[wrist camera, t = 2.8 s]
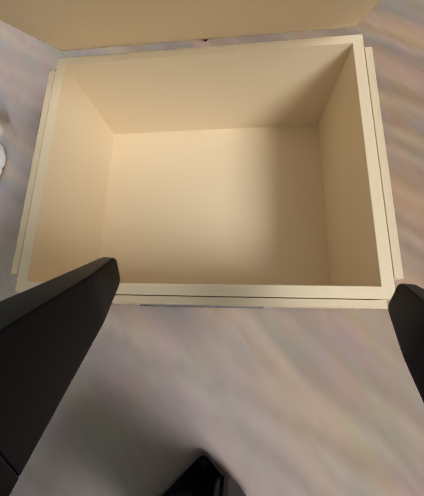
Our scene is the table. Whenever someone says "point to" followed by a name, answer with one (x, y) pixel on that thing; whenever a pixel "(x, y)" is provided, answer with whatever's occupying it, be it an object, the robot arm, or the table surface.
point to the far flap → (172, 19)
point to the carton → (216, 177)
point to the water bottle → (2, 158)
